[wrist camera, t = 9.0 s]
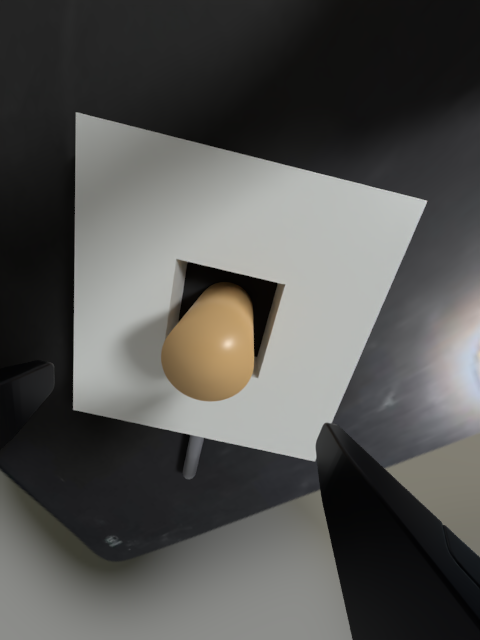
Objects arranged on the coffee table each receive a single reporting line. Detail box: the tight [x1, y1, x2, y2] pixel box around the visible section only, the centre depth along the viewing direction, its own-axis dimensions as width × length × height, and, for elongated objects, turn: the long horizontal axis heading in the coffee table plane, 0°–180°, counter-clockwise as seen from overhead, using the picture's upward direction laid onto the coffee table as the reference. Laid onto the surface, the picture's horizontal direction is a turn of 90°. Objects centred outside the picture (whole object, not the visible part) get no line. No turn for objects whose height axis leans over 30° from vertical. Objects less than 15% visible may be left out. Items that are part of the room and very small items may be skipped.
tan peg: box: [161, 282, 254, 402], centre depth 15 cm, size 4×4×8 cm
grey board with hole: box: [73, 112, 427, 479], centre depth 18 cm, size 18×25×3 cm
